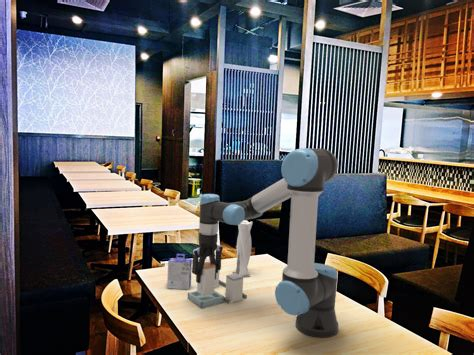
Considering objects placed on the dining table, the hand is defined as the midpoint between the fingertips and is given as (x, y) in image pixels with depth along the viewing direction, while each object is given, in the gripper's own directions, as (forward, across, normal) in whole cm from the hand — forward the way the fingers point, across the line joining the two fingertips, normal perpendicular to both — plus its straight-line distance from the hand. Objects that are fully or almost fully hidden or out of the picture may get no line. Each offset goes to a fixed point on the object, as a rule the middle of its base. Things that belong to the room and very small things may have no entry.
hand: (205, 288), depth 165 cm
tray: (+5, 0, 0) cm, 5 cm away
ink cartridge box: (+5, +2, -18) cm, 19 cm away
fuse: (+2, 0, 0) cm, 2 cm away
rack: (+5, -11, -4) cm, 13 cm away
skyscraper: (+5, -32, -17) cm, 37 cm away
